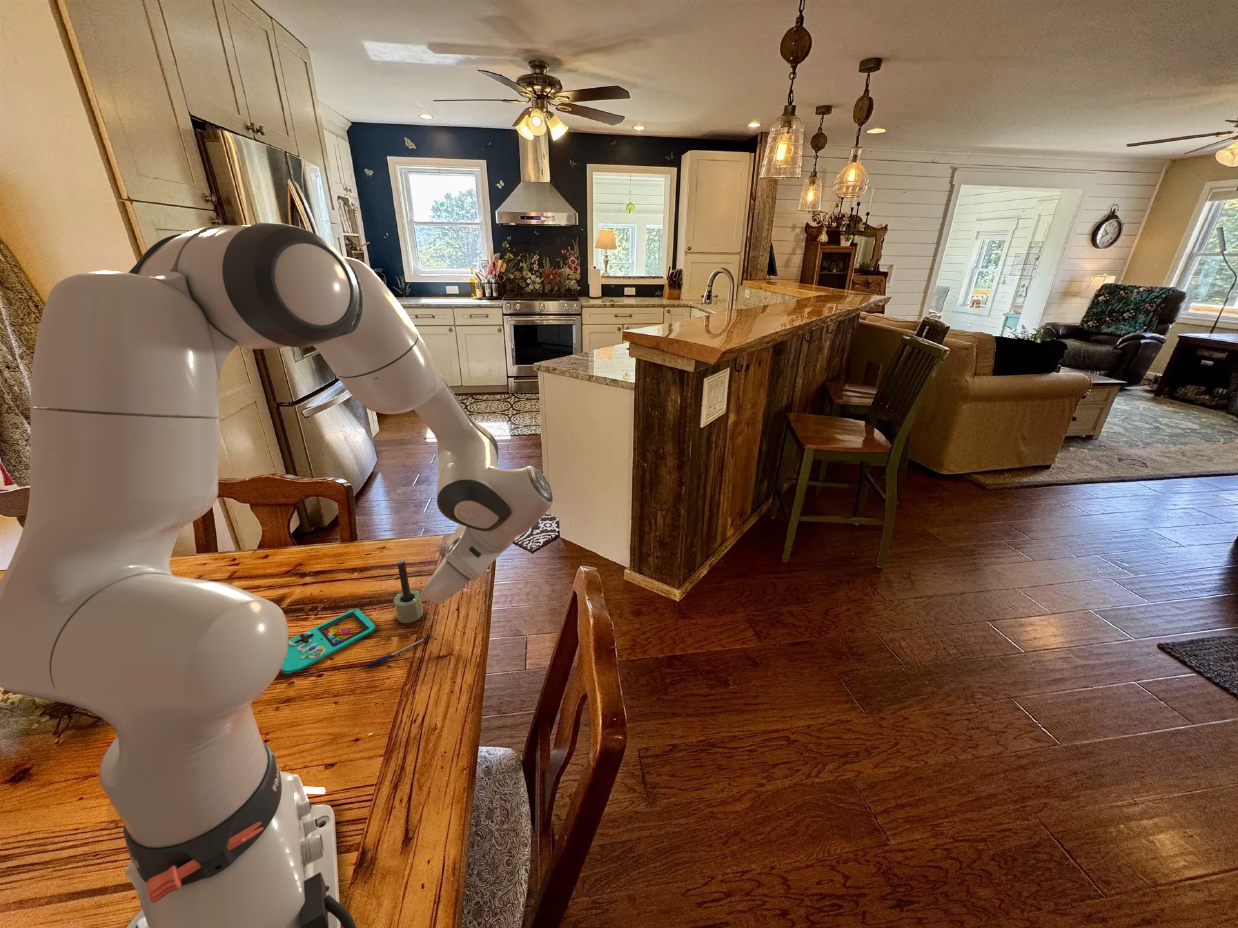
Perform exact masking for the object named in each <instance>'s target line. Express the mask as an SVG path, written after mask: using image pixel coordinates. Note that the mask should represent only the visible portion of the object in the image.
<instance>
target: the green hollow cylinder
mask: <svg viewBox="0 0 1238 928" xmlns="http://www.w3.org/2000/svg"><path fill="white" fill-rule="evenodd" d="M410 593H411V599H412V601H409V602H404V597H403V592H399V593H398V594H397V595H396V596H395V597H394V599H393V605H394V611H395V616H396V619H397V620H398V622H400V623H402V624H411V623H414V622H416V621H418V620H420V619H421V617H422V616H423V615H424V605H423V600H422V599H421V598H420V597H419V594H420V593H421V592H419V591H418V590H416V589H415V590H414V589H410Z"/></svg>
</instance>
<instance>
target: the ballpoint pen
mask: <svg viewBox="0 0 1238 928" xmlns="http://www.w3.org/2000/svg"><path fill="white" fill-rule="evenodd" d="M426 639H427V637H425V638H422V639H419V640H418V641H416V642H413V643H412V644H409V645H407V646H405V647H404V648H401V649H399V650H397V651H395V652H393V653H390V654H389V655H384V656H381V657H379V658H378V659H376V660H374V661H372V662H370V663H368V664H367V665H366V668H370V667H372V666H374V665H376V664H378V663H380V662H382V661H385V660H387V659H389V658H392V656H394V655H397V654H398V653H401V652H403V651H405V650H407V649H409V648H411V647H413V646H415V645H417V644H420V643H421V642H423V641H425V640H426Z"/></svg>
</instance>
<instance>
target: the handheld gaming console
mask: <svg viewBox="0 0 1238 928" xmlns="http://www.w3.org/2000/svg"><path fill="white" fill-rule="evenodd" d="M350 616H352V617H353V618H354V619H355V621H357V623H359V624H360V625H361V626H362V627H363V629H361V630H360V631H357V632H356V633H354V634H351V635H350V636H348V637H346V638H344V639H342V638H343V635H339V636H337V637H336V636H335V634H336V632H337V631H338V630H337V629H335V628H336V627H334V626H333V625H334V624H337V623H339V622H340V621H342V620H344V619H346V618H349V617H350ZM330 626H332V627H330ZM329 627H330V628H329ZM326 628H329V629H328V631H326V630H324V629H326ZM375 630H376V625H375V623H373V621H372V620H371V619H370V618H369V617H367V615H365V614H364V613H363V611H362V610H360V609H358V608H353V609H350V610H348V611H346V612H344V613H342V614H340V615H338V616H334V618H330V620H327V621H325V622H323V623H321V624H318V625H317V626H315V627H312V628H310V629H309V630H306V631H304V632H301V633H300V634H298V635H295V636H294V637H291V638H289V642H288V649H287V653H286V657H285V660H284V662H283V665H282V667H281V669H280V671H279V672H281V673H282V674H284V675H285V674H286V675H291V674H292V673H295V672H299V671H301V670H303V669H305V668H307V667H309V666H311V665H313V664H315V663H316V662H319V661H320V660H322V659H324V658H325V657H327V656H330V655H332V654H333V653H335V652H337V651H339V650H341V649H343V648H345V647H347V646H349V645H350V644H352V643H355V642H357V641H358V640H360V639H362V638H364V637H366V636H368V635H370V634H372V633H373V632H374V631H375ZM341 631H342V633H343V634H345V635H346V634H348V633H350V632H351V630H350V629H347V630H346V629H345V628H343V629H341Z"/></svg>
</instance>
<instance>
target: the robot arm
mask: <svg viewBox="0 0 1238 928" xmlns="http://www.w3.org/2000/svg"><path fill="white" fill-rule="evenodd" d="M236 347H239V348H245V349H249V350H251V349H252V350H268V349H280V348H287V347H290V348H307V347H314V348H315V350H317V351H318V352H319V353H320V356H321V357H322V358H323V360H324V361H325V363H326V364H327V365H328V366H329V368H330V370H331V371H332V372H333V374H334V375H335V376H336V377H337V379H338V380H339V381H340V382H341V384H342V385H343V386H344V388H345V389H346V390H347V392H349V394H350V395H351V396H353V398H354V399H355V400H357V401H358V402H359V403H360V404H361V405H363V406H364V407H365V408H366V409H367V410H369V411H372V412H374V413H379V414H383V415H399V414H403V413H407V412H410V411H413V410H414V411H415V412H416V414H417V415H418V416H419V417H420V419H421V420H422V421H423V422H424V424H425V425H426V427H427V428H428V429H429V430H430V432H432V434H433V436H434V437H435V439H436V442H437V457H438V466H437V481H436V505H437V508H438V510H439V511H440V513H441V515H443V516H444V517H445V518H446V519H448V520H449V521H451V522H453V523H455V524H458V525H457V526H456V528H455V531H454V535H453V539H452V543H451V544H450V547H449V548H448V550H447V552H446V554H445V556H444V557H443V559H442V561H441V562H440V564H439V565H438V566H437V568H436V570H435V571H434V573H433V574H432V575H431V577H430V578H429V580H428V582H427V583H426V584H425V585H424V587H423V589H422V590H421V591H420V592H419V593H420V594H419V597H420V598H421V600H422V602H428V601H430V602H431V603H432V604H434V605H441V604H443V603H445V602H446V601H447V600H449V599H450V598H452V597H453V596H454V595H456V594H457V593H458V592H459V591H461V590H462V589H464V587H465V586H467V585H468V584H469V582H470V581H472V582H476V581H478V580H479V579H480V578H481V577H482V575H483V574H484V573H485V572H486V571H487V569H488V568H489V567H490V565H491V564H492V563H493V562H494V561H496V560H497V559H498V558H499V557H500V556H501V554H503V553H504V552H505V551H506V550H507V549H508V548H510V547H511V545H512V544H513V543H514V542H515V540H516V539H517V538H518V537H519V536H521V535H523V534H526V533H527V532H528V531H529V530H530V529H531V528H532V527H534V526H535V525H536V524H537V523H538V522H539V521H540V520H541V519H542V518H543V517H544V516H545V514H546V513H547V512H548V511H549V509H550V508H551V506H552V504H553V499H554V498H553V497H554V496H553V492H552V488H551V485H550V483H549V481H548V480H547V478H546V476H545V475H544V474H543V473H542V472H541V471H540V470H539V469H537V468H535V467H534V466H532V465H528V466H525V467H522V468H518V469H517V468H516V469H506V468H499V463H498V462H499V445H498V442H497V440H496V438H495V436H494V435H493V434H492V433H491V432H490V431H489V430H488V429H486V428H485V427H484V426H482V425H481V424H479V423H478V422H476V421H475V420H474V419H473V418H472V417H471V416H470V415H469V414H468V412H467V411H466V409H465V408H464V406H463V405H462V403H461V402H460V400H459V399H458V397H457V395H455V393H454V391H453V389H452V388H451V387H450V386H449V384H448V382H447V381H446V379H445V378H444V377H443V375H442V374H441V373H440V371H439V368H438V367H437V365H436V363H435V360H434V359H433V356H432V354H431V353H430V351H429V349H428V347H427V345H426V343H425V341H424V340H423V338H422V335H421V334H420V332H419V331H418V329H417V328H416V325H415V324H414V323H413V321H412V320H411V318H410V316H409V315H408V313H407V311H405V309H404V307H403V306H402V305H401V302H399V300H398V299H397V297H395V295H394V294H393V292H392V291H391V290H390V289H389V288H388V287H387V285H386V284H385V282H383V281H382V279H381V278H380V277H379V276H378V275H377V273H375V271H374V270H373V269H372V268H371V267H370V266H369V265H367V264H366V263H364V262H362V261H361V260H359V259H355V258H351V257H347V256H346V257H345V256H343V255H342V254H341V253H340V252H339V251H338V250H337V249H336V248H335V247H334V246H333V245H331V244H330V243H329V242H328V241H327V240H325V238H322V237H321V236H320V235H318V234H316V233H314V232H312V231H311V230H308V229H305V228H302V227H300V226H296V225H292V224H286V223H280V222H268V221H267V222H257V223H253V224H248V225H244V224H243V225H242V224H241V225H231V224H230V225H229V224H216V225H210V226H206V227H201V228H198V229H195V230H192V231H189V232H188V231H187V232H186V233H177V234H172V235H169V236H167V237H164V238H162V239H160V240H159V241H157V242H155V243H154V244H153V245H151V246H149V248H148V249H147V250H146V251H145V252H144V253H143V254H142V255H141V257H140V258H139V259H138V261H137V262H136V263H135V265H134V266H133V267H132V268H131V269H130V270H129V271H128V272H127V271H118V270H117V271H116V270H115V271H113V270H98V271H87V272H83V273H82V272H81V273H77V274H74V275H70V276H68V277H66V278H64V279H62V280H60V281H58V283H56V284H55V285H54V286H53V287H52V289H51V290H50V292H49V293H48V295H47V299H46V301H45V304H44V308H43V310H42V315H41V317H40V322H39V327H38V331H37V335H36V340H35V346H34V351H33V358H32V365H31V366H32V367H31V379H30V401H29V402H30V403H29V404H30V406H31V407H30V457H29V458H30V462H29V463H30V466H29V498H28V506H27V513H26V516H25V517H26V518H25V521H24V525H23V528H22V531H21V534H20V538H19V540H18V542H17V546H16V548H15V551H14V553H13V555H12V558H11V560H10V562H9V564H8V567H7V568H6V570H5V572H4V574H3V576H2V577H1V579H0V688H1V689H3V690H4V691H6V692H8V693H13V694H16V695H19V696H20V695H21V696H26V697H30V698H34V699H35V698H36V699H41V700H46V701H51V702H56V703H62V704H67V705H71V706H74V707H76V708H81V709H85V710H86V711H89V712H90V713H93V715H96V716H97V717H99V718H101V719H102V720H104V721H105V722H107V723H108V724H109V725H110V726H111V727H112V728H113V729H114V731H115V733H116V737H115V738H114V739H113V740H112V742H111V744H110V745H109V747H108V748H107V749H106V751H105V753H104V755H103V756H102V759H101V761H100V763H99V764H100V765H99V767H98V768H99V769H98V781H99V785H100V786H101V788H102V789H103V791H104V793H105V795H106V797H107V798H108V800H109V802H110V804H111V805H112V807H113V809H114V810H115V812H116V814H117V816H118V817H119V819H120V821H121V822H122V824H123V828H122V829H123V830H122V831H123V837H124V840H125V846H126V847H125V848H126V850H127V853H128V855H129V858H130V860H131V861H130V862H129V863H128V866H127V867H126V868H125V870H124V874H125V875H126V877H127V878H128V880H129V881H130V883H131V884H132V885H133V887H134V888H135V891H136V893H137V897H138V900H139V903H140V905H141V909H140V911H138V913H137V914H136V915H135V916H134V917H133V918H132V920H131V921H130V922H129V923H128V925H127V926H126V928H357V927H356V924H355V921H354V919H353V917H352V915H351V914H350V912H349V911H348V910H347V908H346V907H344V905H343V904H341V903H340V889H339V887H340V886H339V885H340V884H339V873H338V872H339V868H338V852H337V833H336V817H335V815H336V814H335V811H334V810H333V808H332V806H330V805H328V804H315V805H312V803H311V800H310V799H309V798H308V795H307V794H318V795H320V794H322V795H324V794H325V793H326V789H325V787H321V786H320V787H319V786H317V787H316V786H303V785H304V784H303V782H302V780H301V778H300V776H299V774H294V773H290V772H286V771H282V770H280V768H279V762H278V760H277V758H276V755H275V753H274V752H273V750H272V749H271V747H270V746H269V745H268V744H267V742H265V741H263V738H262V735H261V733H260V729H259V727H258V724H257V721H256V718H255V715H254V712H253V707H252V706H253V705H252V704H253V702H255V701H256V700H257V699H258V698H260V697H261V695H263V694H264V692H265V691H266V690H267V689H268V688H269V686H271V684H272V683H273V681H274V680H275V679H276V677H277V676H278V674H279V673H280V672H281V671H280V669H281V667H282V665H283V662H284V660H285V657H286V653H287V649H288V642H289V639H290V631H289V625H288V624H289V623H288V620H287V618H286V615H285V613H284V611H283V610H282V609H281V607H280V606H278V605H277V604H276V603H274V602H273V601H271V600H269V599H267V598H264V597H262V596H260V595H258V594H256V593H254V592H250V591H248V590H245V589H242V588H241V587H237V586H235V585H232V584H230V583H225V582H220V581H213V580H207V579H206V580H205V579H198V578H193V577H185V576H179V575H174V574H173V572H172V567H171V560H172V555H173V551H174V548H175V545H176V543H177V540H178V538H179V536H180V534H181V533H182V532H183V529H184V528H185V527H186V526H187V525H189V524H191V523H193V522H195V521H197V520H198V519H200V518H202V517H203V516H204V515H205V514H206V513H208V512H209V511H210V510H211V509H212V508H213V506H214V505H215V503H216V501H217V498H218V496H219V474H220V473H219V472H220V471H219V470H220V469H219V468H220V390H219V380H220V379H221V374H222V369H223V367H224V364H225V362H226V360H227V358H228V357H229V355H230V354H231V352H232V351H233V350H234V349H235V348H236Z"/></svg>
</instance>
